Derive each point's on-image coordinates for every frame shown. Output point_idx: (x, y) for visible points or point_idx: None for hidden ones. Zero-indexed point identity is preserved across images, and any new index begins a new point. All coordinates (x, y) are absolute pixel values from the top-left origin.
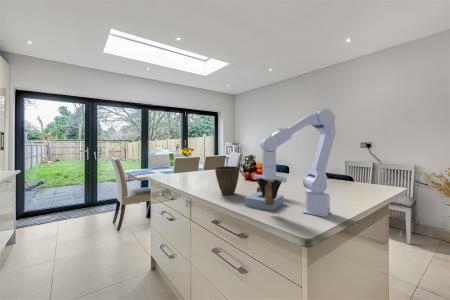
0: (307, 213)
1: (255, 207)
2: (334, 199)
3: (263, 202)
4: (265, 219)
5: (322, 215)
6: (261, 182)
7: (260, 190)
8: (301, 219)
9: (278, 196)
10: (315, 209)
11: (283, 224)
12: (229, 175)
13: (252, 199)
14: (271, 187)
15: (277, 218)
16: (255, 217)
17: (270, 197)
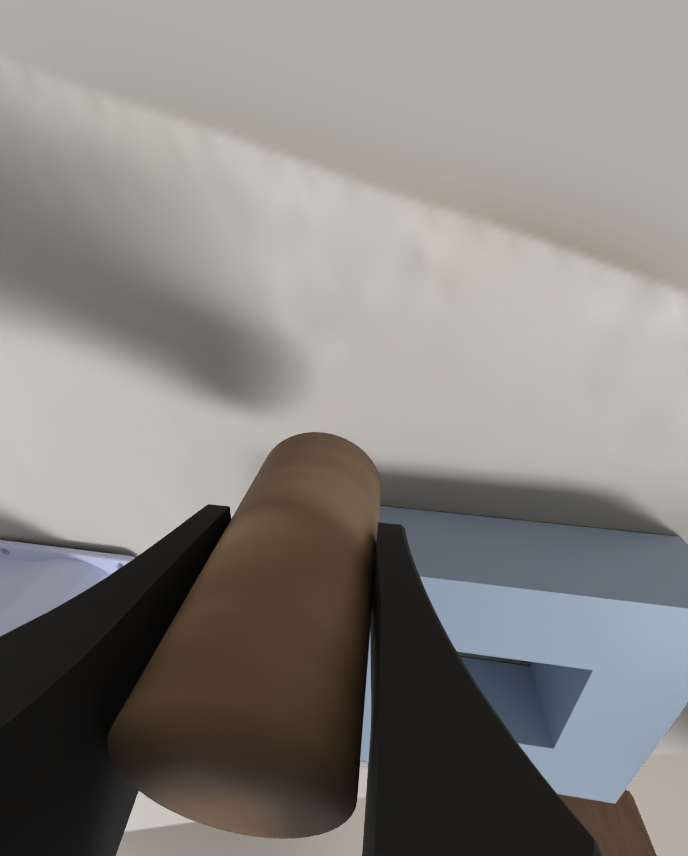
0: (101, 552)
1: (538, 523)
2: (136, 796)
3: (449, 563)
4: (303, 250)
5: (2, 545)
6: (387, 852)
7: (613, 847)
8: (69, 428)
9: (366, 729)
10: (24, 583)
11: (97, 221)
12: None
13: (612, 591)
14: (143, 677)
15: (222, 348)
16: (427, 244)
17: (250, 503)
